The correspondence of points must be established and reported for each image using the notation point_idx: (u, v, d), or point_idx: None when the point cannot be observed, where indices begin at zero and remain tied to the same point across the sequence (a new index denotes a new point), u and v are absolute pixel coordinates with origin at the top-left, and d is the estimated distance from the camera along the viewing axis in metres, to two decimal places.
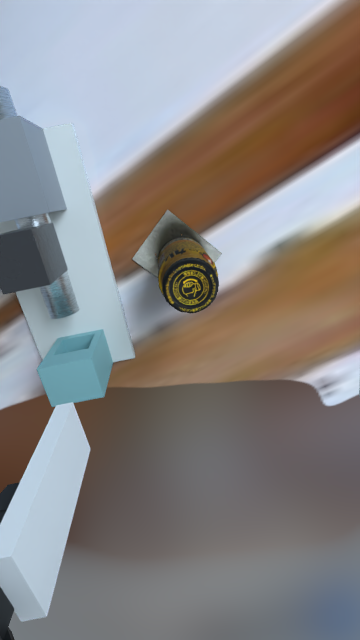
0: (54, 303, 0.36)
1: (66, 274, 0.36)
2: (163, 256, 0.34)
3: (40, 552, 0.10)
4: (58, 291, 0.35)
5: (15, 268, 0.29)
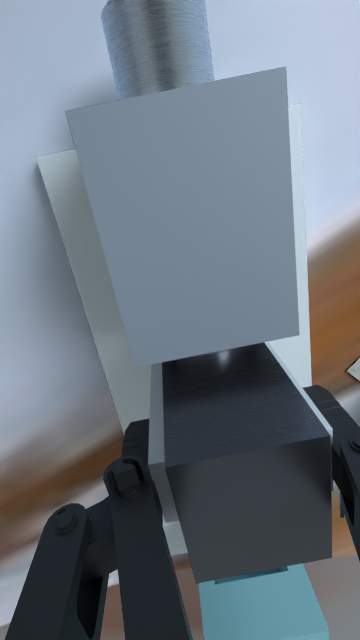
0: None
1: None
2: None
3: None
4: None
5: (247, 528, 0.10)
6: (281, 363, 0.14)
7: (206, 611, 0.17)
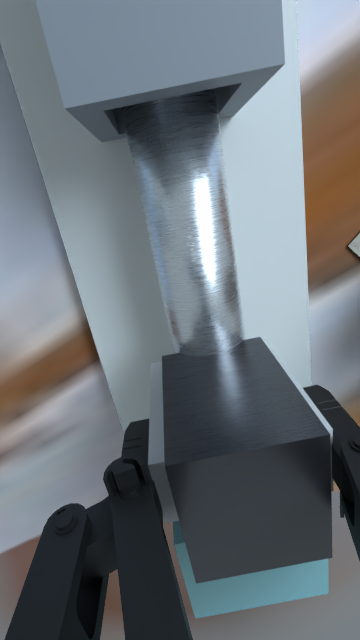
0: None
1: None
2: None
3: None
4: None
5: (248, 528, 0.10)
6: (281, 363, 0.14)
7: None
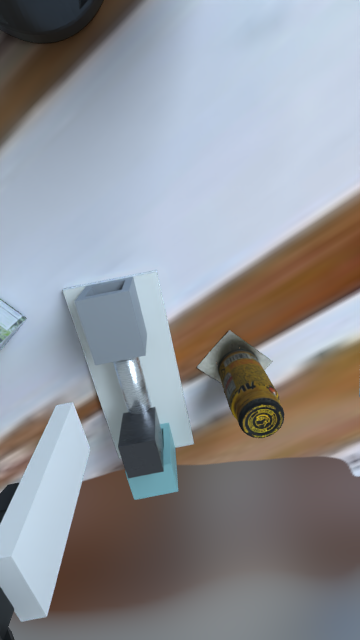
0: None
1: None
2: (232, 381, 0.41)
3: (40, 552, 0.10)
4: None
5: (139, 462, 0.39)
6: None
7: None
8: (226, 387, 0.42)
